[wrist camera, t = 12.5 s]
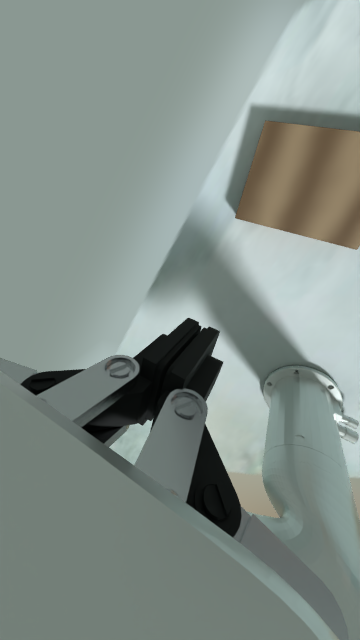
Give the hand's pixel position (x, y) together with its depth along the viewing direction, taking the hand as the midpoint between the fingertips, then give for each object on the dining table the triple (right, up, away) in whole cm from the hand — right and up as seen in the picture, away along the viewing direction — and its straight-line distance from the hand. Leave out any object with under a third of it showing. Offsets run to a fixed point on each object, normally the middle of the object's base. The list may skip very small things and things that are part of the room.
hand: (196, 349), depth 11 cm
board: (+17, +19, +18) cm, 31 cm away
